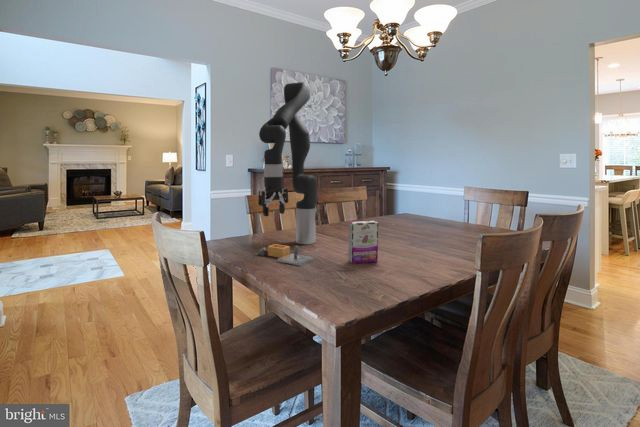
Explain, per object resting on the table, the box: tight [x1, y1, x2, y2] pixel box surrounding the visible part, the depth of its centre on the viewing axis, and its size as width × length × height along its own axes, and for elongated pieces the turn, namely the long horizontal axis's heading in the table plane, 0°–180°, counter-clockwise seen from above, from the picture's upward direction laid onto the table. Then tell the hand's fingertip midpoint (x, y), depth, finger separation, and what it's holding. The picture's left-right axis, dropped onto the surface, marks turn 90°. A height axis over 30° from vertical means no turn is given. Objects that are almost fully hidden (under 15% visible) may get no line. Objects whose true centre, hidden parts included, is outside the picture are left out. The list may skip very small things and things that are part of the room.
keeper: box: [277, 245, 315, 267], centre depth 150 cm, size 10×11×6 cm
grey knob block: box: [257, 247, 268, 257], centre depth 160 cm, size 4×3×3 cm
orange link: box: [267, 243, 291, 258], centre depth 158 cm, size 5×8×4 cm, turn 59°
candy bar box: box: [347, 220, 379, 265], centre depth 149 cm, size 11×5×16 cm, turn 105°
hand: (274, 214), depth 154 cm, fingers open, 8 cm apart
